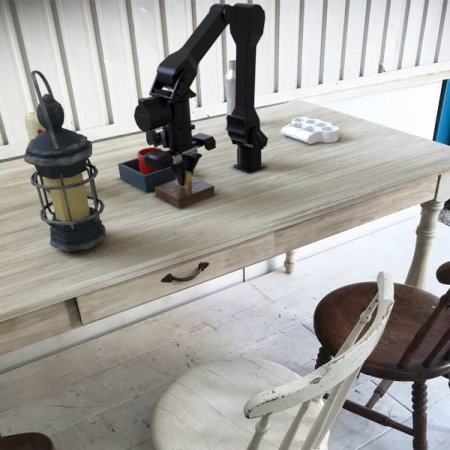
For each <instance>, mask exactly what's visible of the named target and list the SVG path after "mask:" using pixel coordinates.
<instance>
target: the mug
mask: <svg viewBox="0 0 450 450" xmlns="http://www.w3.org/2000/svg"><path fill="white" fill-rule="evenodd" d="M156 149H159V150H162V151H165V152H166V151H169V149H164V148H161V147H156V148H154V146H153V147H144V148H142V149H140V150H138V151H137V158H138V162H139V169H140V173H142V174H144V175H147V174H150V173H153V172H156V171H158V169H155V168H152V167H149V166H146V165H145V161H144V156H145V154H146V153H148V152H151V151H153V150H156Z"/></svg>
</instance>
